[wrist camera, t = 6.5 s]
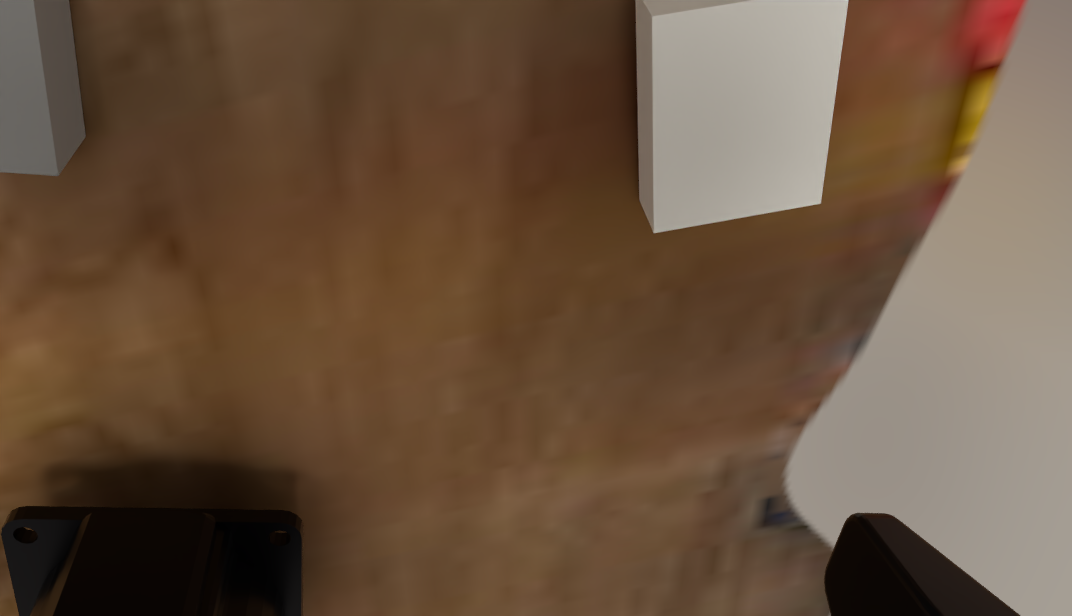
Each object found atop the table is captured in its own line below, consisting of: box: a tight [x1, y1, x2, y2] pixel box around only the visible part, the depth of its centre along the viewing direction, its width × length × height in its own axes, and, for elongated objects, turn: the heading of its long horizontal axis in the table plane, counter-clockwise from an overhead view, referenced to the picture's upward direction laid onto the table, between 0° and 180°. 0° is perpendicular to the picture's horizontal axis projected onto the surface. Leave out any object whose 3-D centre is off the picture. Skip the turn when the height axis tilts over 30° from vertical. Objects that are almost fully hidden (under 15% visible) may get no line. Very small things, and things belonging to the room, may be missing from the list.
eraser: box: [635, 0, 848, 233], centre depth 19 cm, size 1×5×4 cm
